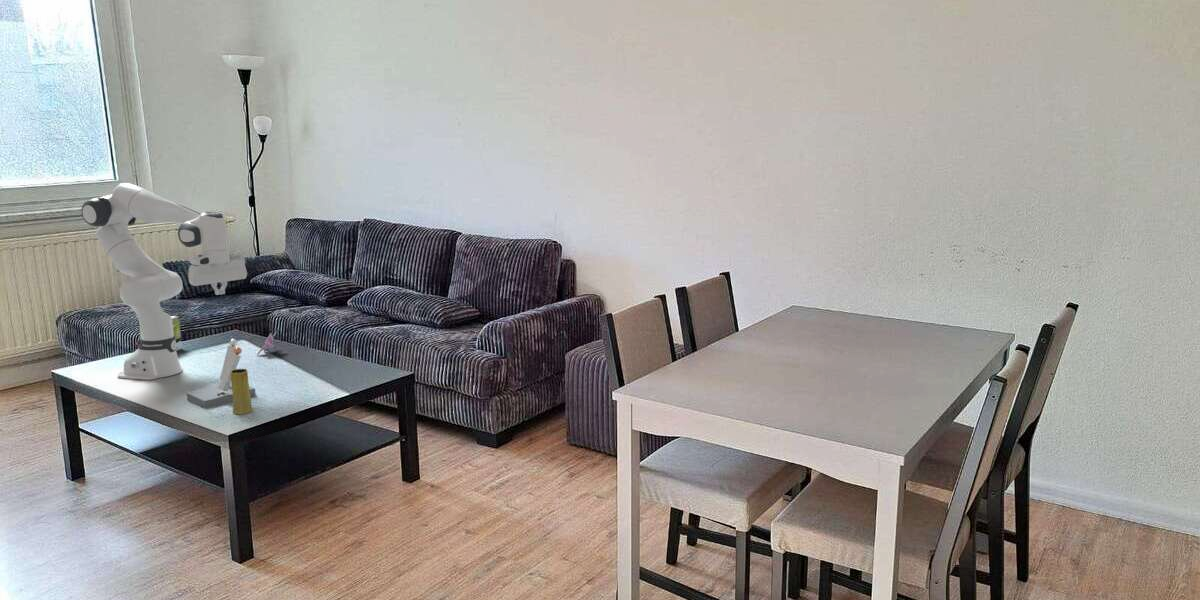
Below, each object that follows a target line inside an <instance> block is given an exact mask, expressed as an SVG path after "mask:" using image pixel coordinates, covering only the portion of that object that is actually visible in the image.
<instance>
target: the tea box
mask: <svg viewBox="0 0 1200 600" xmlns="http://www.w3.org/2000/svg"><path fill="white" fill-rule="evenodd" d="M170 316H171V318H172V324H173V333H174V336H175V339H176V352H177V351H180V350H182V349H183V346H182V345H183V344H182V335H181V334H182V333H181V325H180V322H181V321H180V317H179V315H170ZM138 331H139V340H140V339H142V335H141V329H140V323H138Z"/></svg>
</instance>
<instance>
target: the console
mask: <svg viewBox="0 0 1200 600" xmlns="http://www.w3.org/2000/svg"><path fill="white" fill-rule="evenodd" d="M219 385H220V384H218V385H217V384H216V385H214V386H208V387H206V388H202V389H197V390H194V391H189V392H186V399H187V401H190V402H192V403H194V404H196V405H199V406H200V407H202V408H205V409H207V408H211V407H216V406H219V405H222V404H226V403H231V402H233V393H232V384H231V383H230V386H229V388H228V391H223V390H221V389H219ZM249 390H250V397H254V396H256V394H257V393H256V388H255V387H252V386H250V385H249Z"/></svg>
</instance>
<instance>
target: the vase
mask: <svg viewBox="0 0 1200 600" xmlns="http://www.w3.org/2000/svg"><path fill="white" fill-rule="evenodd" d="M230 375H231V384H232V393H233V401H232V413H233V414H234V415H246V414H249V413H252V411H253V407H252V398H251V397H252V396H251V397H250V390H249V386H250V384H249V375H248V369H247V368H236V369H235V370H232V371H231V372H230Z"/></svg>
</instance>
